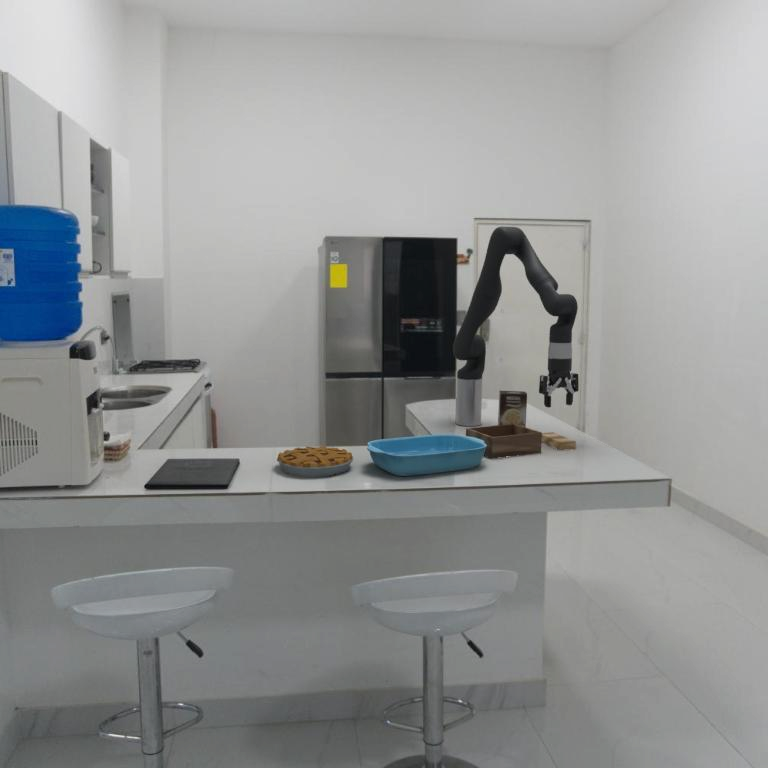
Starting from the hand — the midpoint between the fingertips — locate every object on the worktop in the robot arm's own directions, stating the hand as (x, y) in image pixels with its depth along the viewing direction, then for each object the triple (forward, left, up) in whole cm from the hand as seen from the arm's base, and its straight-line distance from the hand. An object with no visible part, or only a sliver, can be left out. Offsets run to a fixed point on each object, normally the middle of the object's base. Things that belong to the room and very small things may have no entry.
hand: (558, 406), depth 241 cm
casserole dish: (+5, -52, -14) cm, 53 cm away
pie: (-6, -82, -13) cm, 83 cm away
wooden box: (-1, -21, -13) cm, 24 cm away
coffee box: (-14, -8, -13) cm, 21 cm away
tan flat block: (0, 0, -13) cm, 13 cm away
